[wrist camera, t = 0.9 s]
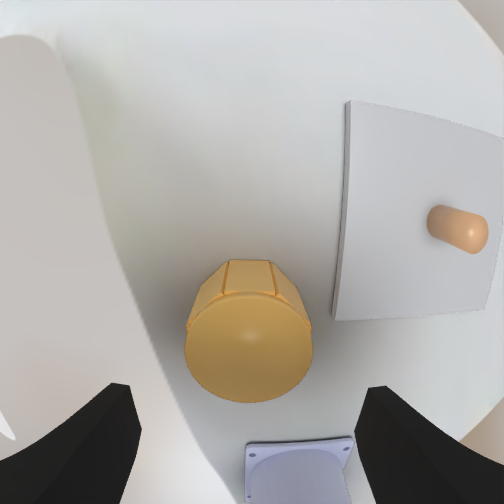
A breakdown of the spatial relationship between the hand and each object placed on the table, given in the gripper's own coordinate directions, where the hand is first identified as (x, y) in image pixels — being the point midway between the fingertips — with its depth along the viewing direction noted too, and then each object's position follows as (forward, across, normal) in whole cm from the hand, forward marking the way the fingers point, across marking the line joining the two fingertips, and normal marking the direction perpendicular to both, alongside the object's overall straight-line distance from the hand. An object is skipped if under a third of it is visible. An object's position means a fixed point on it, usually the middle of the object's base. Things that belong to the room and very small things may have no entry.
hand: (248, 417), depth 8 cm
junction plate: (+8, -10, -5) cm, 14 cm away
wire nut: (+8, 0, 0) cm, 8 cm away
